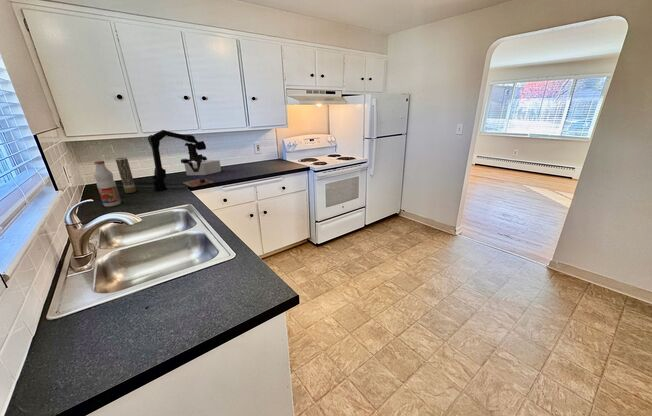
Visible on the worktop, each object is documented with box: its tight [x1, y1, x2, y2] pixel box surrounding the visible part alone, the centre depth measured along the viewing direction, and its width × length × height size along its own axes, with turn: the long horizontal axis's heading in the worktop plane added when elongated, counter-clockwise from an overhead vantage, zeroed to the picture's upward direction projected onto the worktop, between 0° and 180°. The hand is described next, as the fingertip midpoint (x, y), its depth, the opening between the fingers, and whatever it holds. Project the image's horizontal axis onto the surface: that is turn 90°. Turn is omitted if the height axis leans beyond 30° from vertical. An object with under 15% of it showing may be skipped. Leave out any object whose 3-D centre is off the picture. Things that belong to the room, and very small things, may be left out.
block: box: [183, 159, 222, 176], centre depth 248 cm, size 15×30×11 cm, turn 119°
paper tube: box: [115, 157, 137, 194], centre depth 193 cm, size 7×7×25 cm
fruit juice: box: [93, 160, 122, 207], centre depth 168 cm, size 9×9×28 cm
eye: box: [198, 177, 206, 183], centre depth 217 cm, size 4×4×3 cm
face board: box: [182, 178, 215, 188], centre depth 219 cm, size 18×18×1 cm
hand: (196, 170), depth 219 cm, fingers closed on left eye, 4 cm apart
